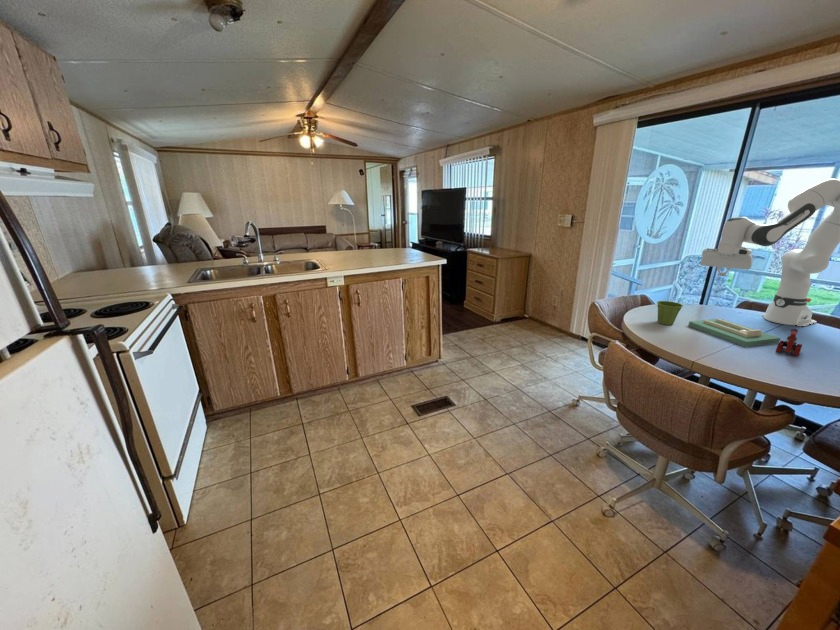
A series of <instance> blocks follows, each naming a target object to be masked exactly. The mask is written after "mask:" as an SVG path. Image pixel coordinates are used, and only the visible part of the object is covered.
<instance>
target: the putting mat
mask: <svg viewBox="0 0 840 630" xmlns="http://www.w3.org/2000/svg"><path fill="white" fill-rule="evenodd" d="M687 327H690V328H693V329H695V330H699V331H701V332H704V333H706V332H707V334H709V335H711V336H715V337H718V338H719V339H720V338H721V339H723V340H725V339H726V340H725V341H728V340H729V341H728V342H732V343H733V342H734V344H736V343H737V345H739V346H742V347H744V346H745V348H746V346H747V347H755V346H763V345H771V344H779V343H780V341H781V337H779V336H777V335H772V334H770V333H766V332H764V331H762V329H754V328H750V327H747V326H746V325H745V326H744V325H742V324H738V323H735V322H732V321H728V320H725V319H723V318H713V319H712V318H711V319H702V320H694V321H693V320H692V321H689V322H688V326H687ZM740 330H746V331H748V332H747V333H744V332H741V331H740Z"/></svg>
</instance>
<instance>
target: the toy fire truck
mask: <svg viewBox="0 0 840 630" xmlns="http://www.w3.org/2000/svg"><path fill="white" fill-rule="evenodd" d="M797 333H798V329H796V328H792V329H790V335H789V336H787V337H786V340H781V339H780V341H779V343H777V347H776V349H775V352H776V353H781V352H782V350H783V351H784V352H785V353H789V354H790V353H791V352H792V353H793V354H792V356H794V357H799V355H800V352H801V350H802V348H803V344H802V343H797V340H798V337H797Z"/></svg>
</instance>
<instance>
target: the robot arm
mask: <svg viewBox="0 0 840 630" xmlns="http://www.w3.org/2000/svg"><path fill="white" fill-rule="evenodd" d="M825 206H828V207H833V210H832V211H831V212H830V213H829V214H828V215H827V216H826V217H825V218H824V219H823V220H822V221H821V222H820V223H819V224H818V225H817V226H816V228H814V230H813V231H812V232H811V233H810V234H809V236H808V240H807V242H806V243H805V244H806V245H805V246H804V248H794V249H790V250H787V251H786V252H785V253H784V254H782V256H781V263H782V264H781V265H782V266H781V277H780V282H779V285H778V287H777V288H778V289H777V292H776V293H775V295H774V296H773V300H772V302H770V303H769V304H768V306H767V309H766V311H765V312H764V313H762V315H761V316H762V317H763V319H765V320H767V321H769V322H773V323H777V324H781V325H787V326H795V325H797V326H796V327H801V326H804V327H807V326H810V325H809V324H811V325H814V324H817V320H815V319H812V316H813V311H812V310H811V309H810V308H809V307H808V305H807V303H810V302H811V301H812V298H810V297H809V298H808V297H807V296H808V293H809V291H810V290H811V289H810V288H811V285H812V282H811V274H812V275H813V274H818V273H821V272H823V271H825V270H826V269H827V268H828V266H829V263H830V261H829V260H830V258H831V257H832V255H833V253H834V252H835V249H837V247H838V246H839V244H840V180H839V179H836V178H827V179H825V180H822V181H819V182H818V183H815V184H813V185H811V186H809V187H807V188H806V189H803V190H801V191H800V192H799V193H797V194H795V195H794V196H793V197H791V199H789V201H788V203H787V208H788V209H787V210H788V211H789V212H790V213H789V214H787V215H786V216H784V217H782V218H781V219H780V220H778V221H777V222H775V223H768V224H766V223H765V224H764V223H757V222H755V221H752V220H750V219H749V218H748V217H747V216H736V217H735V216H734V217H731V218H729V219H727V220H726V221H725V223H724V224H723V228H722V231H721V238H720V241H719V242H718V247H717V248H709V247H707V248H705V249H703V251H702V253H701V256H702V257H701V259H700V262H699V264H700V266H704V267H714V268H716V270H717V271H718V275H717V276H719V277H726V276H727V273H729V271H731V269H735V270H746V271H747V270H750V269H751V268H752V265H753V260H754V259H753V258H754V257H753V255H752V253H753V250H752V249H750V248H748V247H745V246H742V245H743V244H744V243H748V244H753V245H757V246H762V247H769V246H770V247H771V246H773V245H775V244H777V243H778V242H780V240H781V239H782V238H783V237H784V236H785V235H786V234H787V233H788V232H790V231H792V230H793V229H794V228H796V227H798V226H799V225H801V224H802V223H803V222H805V221H807V220H808V219H809V218H810V217H812V216H813V215H814V214H815V212H816V211H818V210H820V209H822V208H823V207H825ZM722 268H726V271H725V272H724V271H721V270H722ZM813 323H814V324H813Z"/></svg>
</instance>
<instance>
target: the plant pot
mask: <svg viewBox="0 0 840 630" xmlns="http://www.w3.org/2000/svg"><path fill="white" fill-rule="evenodd" d="M656 303H657V323H658V324H662V325H664V324H665V325H666V326H671V325H674V323H675V321H676V319H677V317H678V315H679V313H680V312H681V309H682V308H683V307H684V305H683V304H682V303H679V302H676V301H668V300H657V301H656Z"/></svg>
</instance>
